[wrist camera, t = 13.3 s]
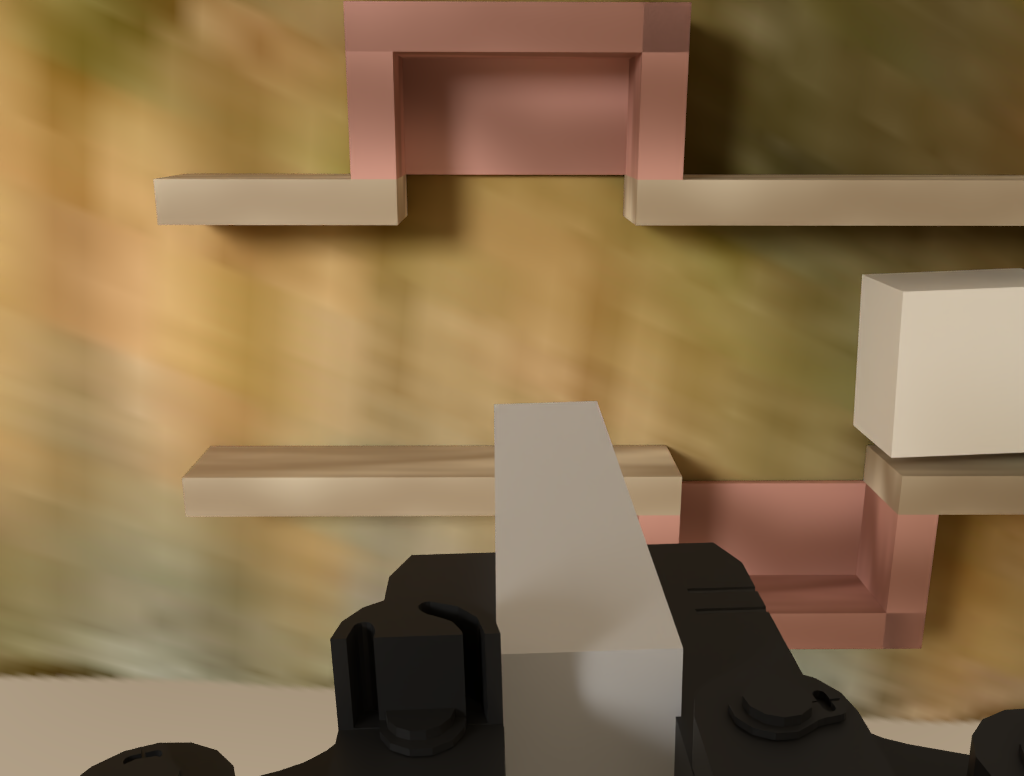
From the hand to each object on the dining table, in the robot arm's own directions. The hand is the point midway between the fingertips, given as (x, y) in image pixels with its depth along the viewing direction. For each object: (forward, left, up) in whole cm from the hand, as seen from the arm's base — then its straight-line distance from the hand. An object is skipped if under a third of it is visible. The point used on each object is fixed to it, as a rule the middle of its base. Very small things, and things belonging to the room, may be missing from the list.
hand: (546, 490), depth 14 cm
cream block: (+3, +16, -23) cm, 28 cm away
